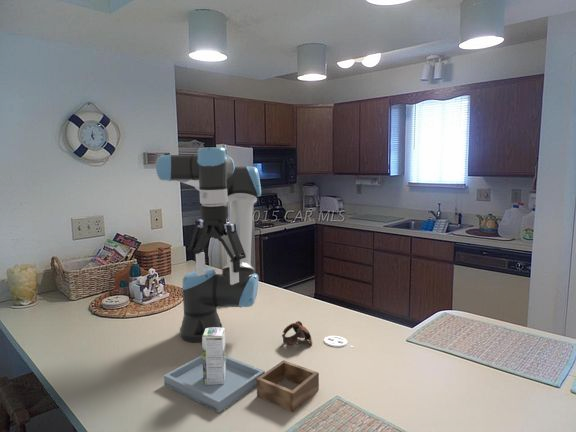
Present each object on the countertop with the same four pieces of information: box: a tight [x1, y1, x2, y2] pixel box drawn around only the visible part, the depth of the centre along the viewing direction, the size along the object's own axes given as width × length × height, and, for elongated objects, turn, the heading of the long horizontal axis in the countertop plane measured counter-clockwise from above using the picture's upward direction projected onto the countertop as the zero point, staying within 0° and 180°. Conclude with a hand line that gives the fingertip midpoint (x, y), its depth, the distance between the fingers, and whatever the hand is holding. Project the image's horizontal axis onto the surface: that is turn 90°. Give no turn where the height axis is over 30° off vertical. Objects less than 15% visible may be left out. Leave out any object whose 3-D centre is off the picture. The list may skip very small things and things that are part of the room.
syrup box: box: [201, 327, 226, 385], centre depth 113 cm, size 6×6×14 cm
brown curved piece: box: [281, 320, 313, 347], centre depth 138 cm, size 12×10×8 cm
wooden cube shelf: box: [256, 359, 320, 413], centre depth 109 cm, size 12×12×5 cm
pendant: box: [323, 335, 354, 348], centre depth 138 cm, size 7×11×1 cm, turn 56°
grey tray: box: [163, 354, 266, 414], centre depth 114 cm, size 22×18×3 cm
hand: (217, 278), depth 113 cm, fingers open, 13 cm apart
